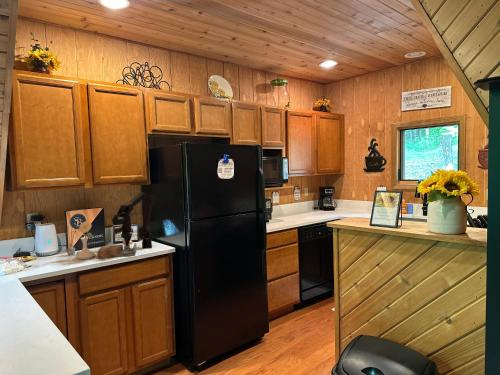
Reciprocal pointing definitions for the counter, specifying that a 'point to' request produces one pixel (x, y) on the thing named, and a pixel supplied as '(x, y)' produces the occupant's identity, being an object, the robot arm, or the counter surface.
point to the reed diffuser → (71, 249)
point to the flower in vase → (85, 242)
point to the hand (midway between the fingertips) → (127, 245)
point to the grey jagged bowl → (129, 251)
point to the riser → (126, 247)
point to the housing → (110, 251)
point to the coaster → (129, 242)
